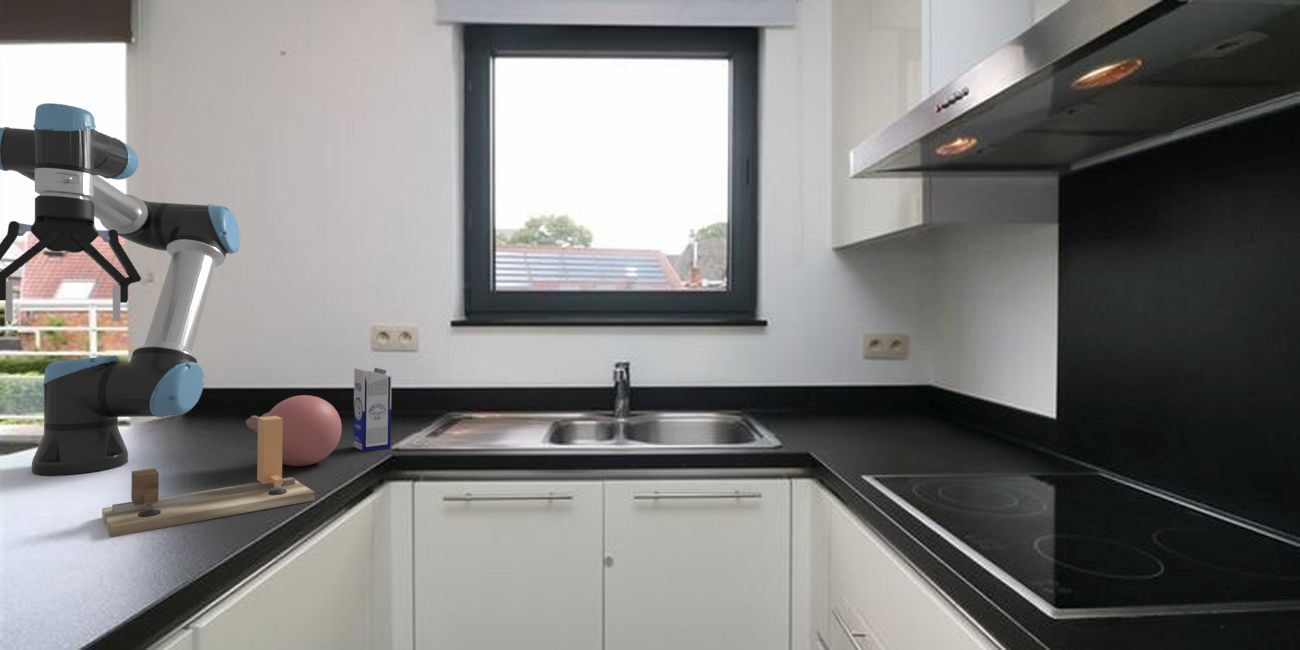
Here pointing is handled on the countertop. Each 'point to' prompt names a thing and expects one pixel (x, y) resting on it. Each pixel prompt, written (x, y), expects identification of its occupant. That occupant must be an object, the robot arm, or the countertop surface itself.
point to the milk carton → (372, 410)
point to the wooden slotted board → (194, 503)
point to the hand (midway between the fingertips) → (65, 321)
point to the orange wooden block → (270, 450)
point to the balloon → (305, 429)
